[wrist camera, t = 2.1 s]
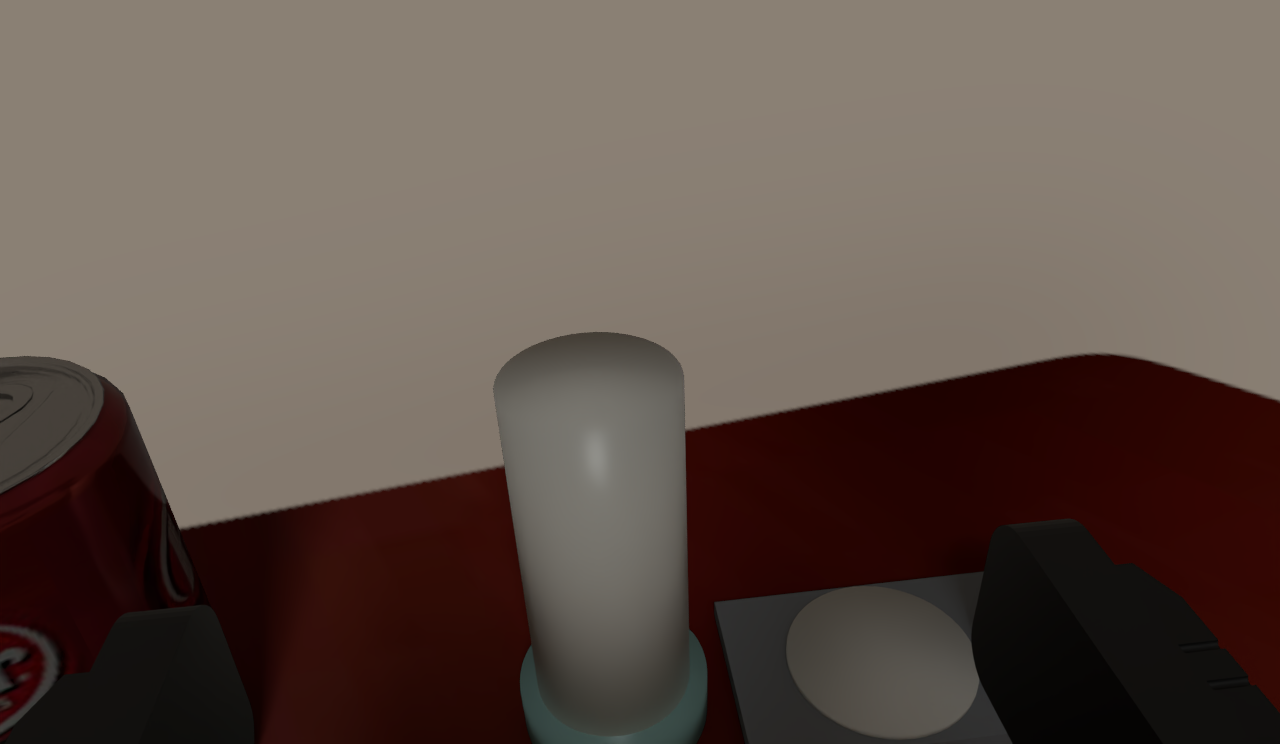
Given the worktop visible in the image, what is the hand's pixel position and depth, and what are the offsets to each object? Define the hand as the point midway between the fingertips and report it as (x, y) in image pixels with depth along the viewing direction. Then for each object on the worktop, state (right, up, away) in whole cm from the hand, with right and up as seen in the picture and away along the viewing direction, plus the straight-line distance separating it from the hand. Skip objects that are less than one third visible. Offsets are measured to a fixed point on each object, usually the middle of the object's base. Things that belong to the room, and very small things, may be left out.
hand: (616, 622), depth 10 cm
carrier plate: (+9, -6, +18) cm, 21 cm away
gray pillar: (0, -7, +18) cm, 19 cm away
